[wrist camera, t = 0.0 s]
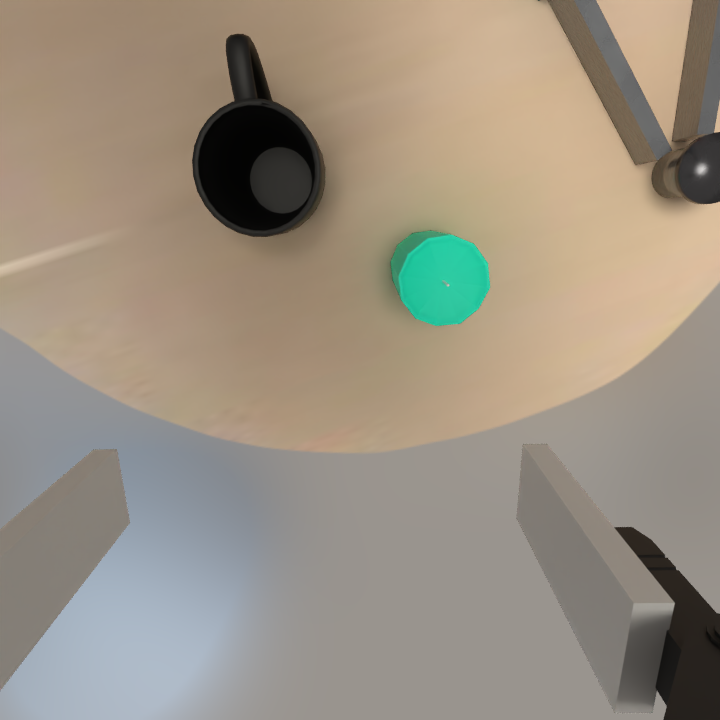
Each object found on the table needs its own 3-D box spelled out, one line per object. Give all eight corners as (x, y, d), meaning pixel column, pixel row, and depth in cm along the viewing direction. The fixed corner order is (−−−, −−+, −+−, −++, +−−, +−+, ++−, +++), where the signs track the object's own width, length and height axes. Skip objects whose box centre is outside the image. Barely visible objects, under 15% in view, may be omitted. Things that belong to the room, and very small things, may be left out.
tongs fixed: (699, 204, 40) (740, 203, 35) (640, 206, 40) (674, 204, 35) (759, -145, 33) (819, -201, 29) (688, -143, 33) (738, -199, 29)
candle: (376, 273, 41) (380, 295, 30) (419, 215, 40) (441, 214, 29) (430, 314, 42) (454, 350, 31) (474, 259, 41) (517, 275, 29)
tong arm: (649, 155, 39) (672, 150, 36) (628, 169, 39) (649, 165, 36) (534, -64, 35) (550, -90, 32) (513, -46, 35) (526, -70, 32)
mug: (320, 67, 37) (306, 17, 28) (336, 228, 40) (328, 231, 31) (215, 78, 37) (167, 32, 28) (240, 237, 41) (203, 242, 32)
